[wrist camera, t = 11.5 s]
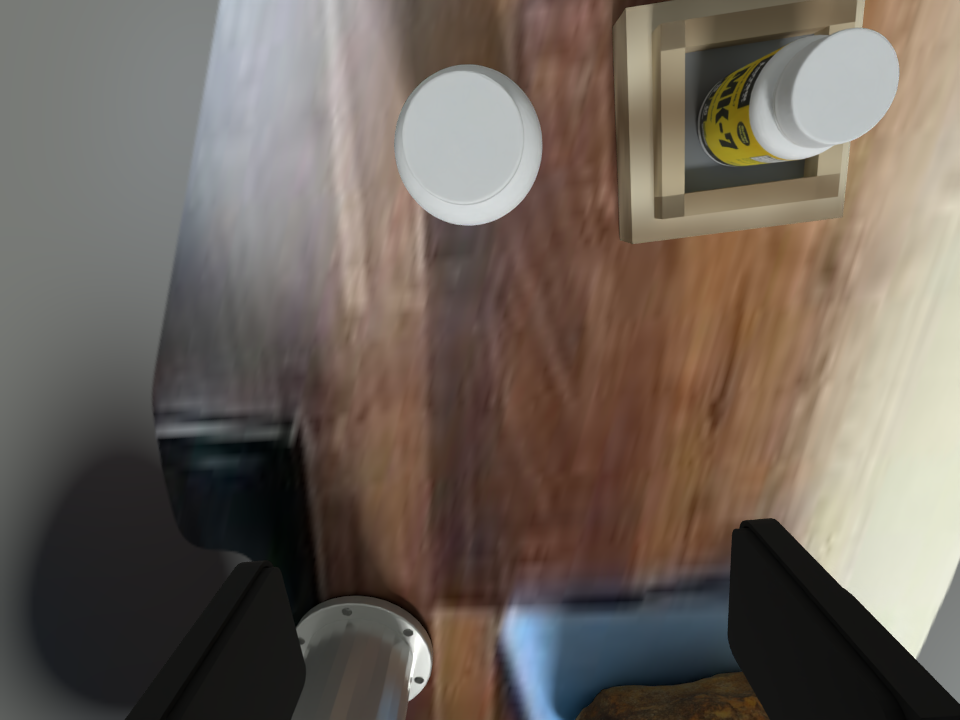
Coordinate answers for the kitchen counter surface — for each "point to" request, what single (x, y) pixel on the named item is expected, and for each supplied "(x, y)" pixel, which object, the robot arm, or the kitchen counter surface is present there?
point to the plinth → (675, 109)
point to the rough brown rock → (679, 701)
